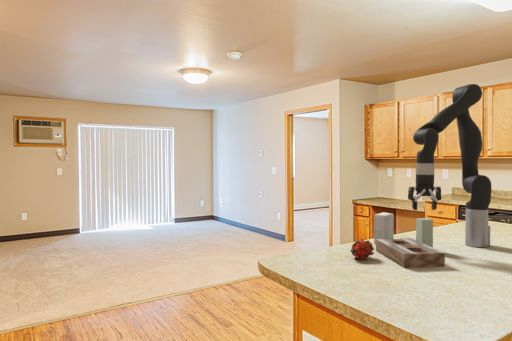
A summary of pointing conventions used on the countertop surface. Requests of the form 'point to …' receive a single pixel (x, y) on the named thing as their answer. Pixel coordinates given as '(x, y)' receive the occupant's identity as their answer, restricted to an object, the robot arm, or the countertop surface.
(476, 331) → the countertop surface
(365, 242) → the dragon fruit
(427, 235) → the square peg
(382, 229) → the skincare box
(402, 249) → the block
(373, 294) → the countertop surface
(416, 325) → the countertop surface
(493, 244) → the countertop surface
